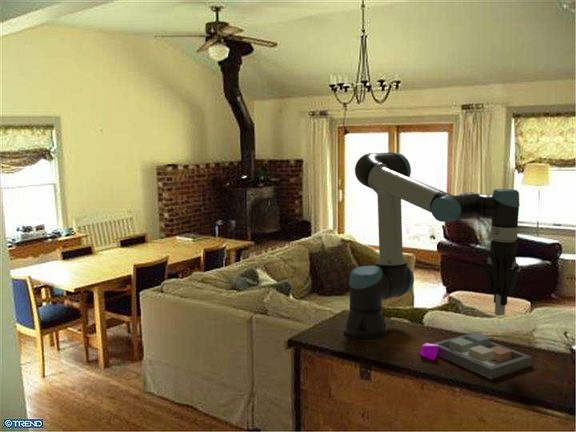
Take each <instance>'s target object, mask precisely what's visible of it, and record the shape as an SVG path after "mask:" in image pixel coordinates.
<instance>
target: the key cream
mask: <svg viewBox="0 0 576 432" xmlns="http://www.w3.org/2000/svg"><path fill="white" fill-rule="evenodd" d="M469 357H472V358H474V359H476V360H479V361H481V362H484V361H487V360H491V359H494V350H492V349H489V348H486V347H484V346H481V345H480V346H476V347H473V348H469Z"/></svg>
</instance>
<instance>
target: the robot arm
mask: <svg viewBox="0 0 576 432" xmlns="http://www.w3.org/2000/svg"><path fill="white" fill-rule="evenodd" d="M354 173H355V178H356V179H357V180H358V182H359V183H360V184H361V185H363V186H365V187H367V188H370V189H371V190H372V191H374V193H376V195H377V220H378V221H377V224H378V248H379V249H378V250H379V252H378V253H379V254H378V255H379V258H378V259H376V261H375V265H367V266H366V265H362V266H358V267H356V268H353V270H351V272H350V275H349V281H348V282H349V283H348V285H349V311H348V314H347V317H346V322H345V324H344V333H345V334H347V335H348V336H351V337H354V338H359V339H377V338H381V337H384V336H385V335H386V334H387V331H388V330H387V329H388V328H387V324H386V322H385V321H386V320H385V317H384V315H383V301H386V300H389V299H394V298H399V297H402V296H403V295H406V294H408V293H409V292H410V291H411V290H412V288H413V286H414V281H415V280H414V279H415V277H414V276H415V275H414V272H413V271H412V270H411V269H412V268H411V267H410V266H409V265H408V261H407V259H405V257H403V253H404V252H403V225H402V224H403V223H402V222H403V217H402V201H405V202H407V203H409V204H412V205H414V206H415V207H418V208H421V209H422V210H425V211H426V212H429V213H431V214H432V216H433V217H434V219H435V220H436V221H438V222H441V223H444V222H446V223H451V222H454V221H459V220H466V219H467V220H468V219H473V218H479V219H489V220H491V228H490V238H491V240H490V243H489V244H490V245H489V247H490V248H489V251H490V254H489V256H488V258H484V259H483V260H482V262H483V264H484V266H485V271H486V279H487V287H488V290H489V291H492V292H493V303H494V305H495V306H494V315H496V316H497V317H501V316H504V315H505V314H506V306H507V305H508V296H509V295H510V296H511V295H513V294H514V293H515V290H516V285H517V283H518V279H519V276H520V273H521V271H522V270H523V269H524V267H523V265H522V264H521V265H520V264H518V263H517V258H516V253H517V251H518V250H517V248H518V247H517V245H518V242H517V240H518V234H519V233H518V232H519V231H518V230H519V215H520V214H519V210H520V205H521V204H520V192H519V191H518V190H517V189H513V188H496V189H493V191H492V194H487V193H486V194H485V193H477V192H461V193H460V194H459V195H458V194H457V195H453V194H450V193H448V192H445V191H443V190H441V189H438V188H436V187H434V186H431V185H429V184H426V183H424V182H422V181H419V180H416V179H415V178H412V177H411V173H412V167H411V163H410V162H409V160H408V158H407V157H406V156H405V155H403V154H402V153H398V152H391V151H390V152H369V153H366V154H364V155H362V156H361V157H360V158H358V160H357V162H356V163H355V167H354Z"/></svg>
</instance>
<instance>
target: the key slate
mask: <svg viewBox="0 0 576 432" xmlns="http://www.w3.org/2000/svg"><path fill="white" fill-rule="evenodd" d="M471 334H472V335H469V336H467V340H469V341H471V342H474V343H473V346H475V347H476V346H480V345H481V346H484V347H486V346H489V345H491V342H492V340H491V337H490V336H487V335H484V334H482V333H479V332H477V333H471Z"/></svg>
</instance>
